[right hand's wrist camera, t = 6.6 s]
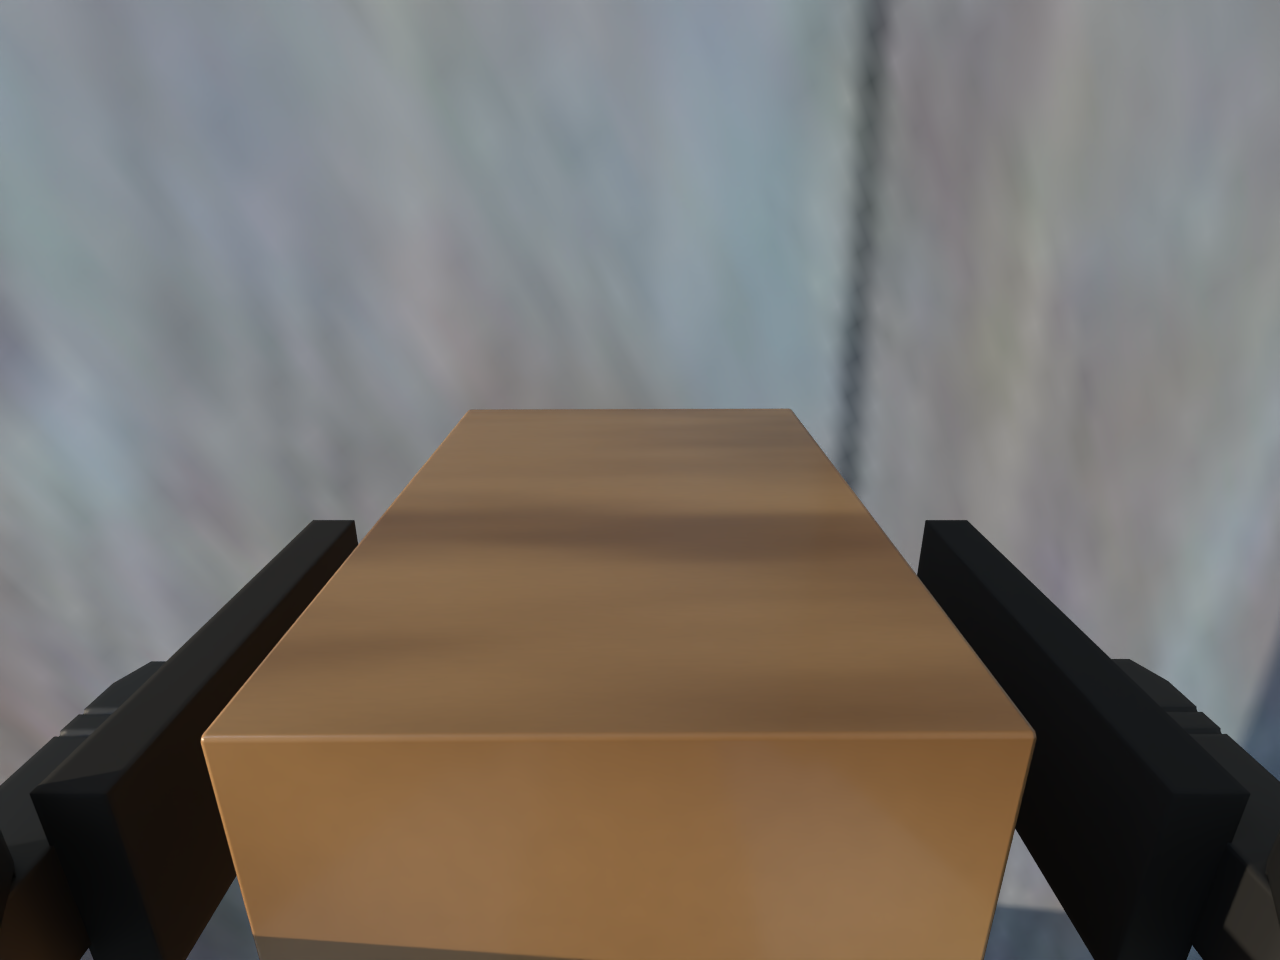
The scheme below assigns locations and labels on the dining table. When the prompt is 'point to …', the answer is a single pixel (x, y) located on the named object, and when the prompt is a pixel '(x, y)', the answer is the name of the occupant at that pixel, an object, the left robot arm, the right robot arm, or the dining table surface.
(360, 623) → the box
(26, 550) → the dining table surface
